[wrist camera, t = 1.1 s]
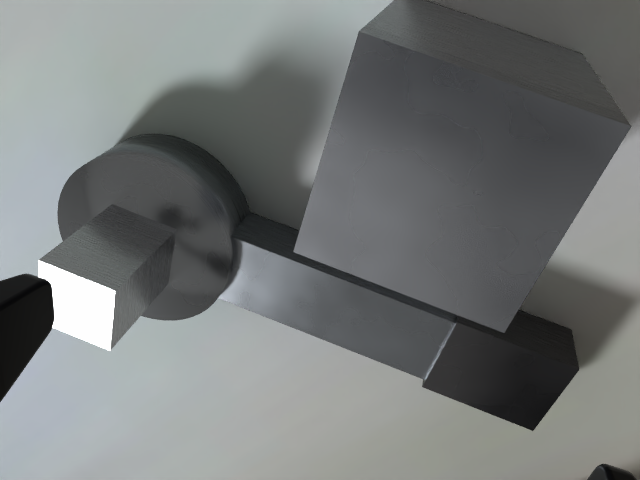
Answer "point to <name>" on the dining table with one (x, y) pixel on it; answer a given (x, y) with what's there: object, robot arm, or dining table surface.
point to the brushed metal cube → (457, 159)
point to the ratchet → (268, 281)
